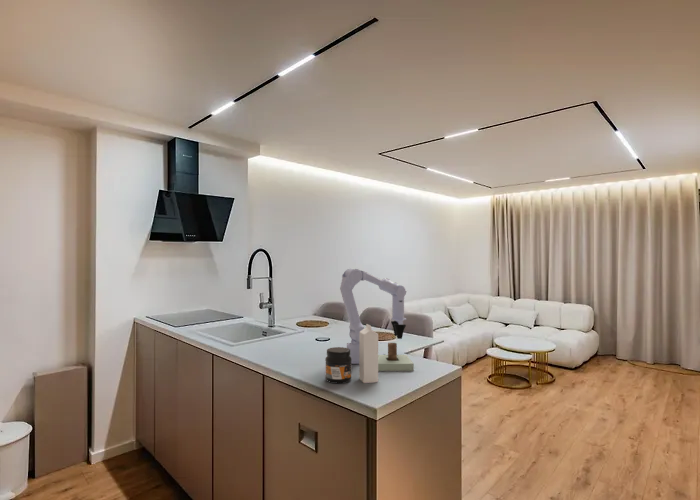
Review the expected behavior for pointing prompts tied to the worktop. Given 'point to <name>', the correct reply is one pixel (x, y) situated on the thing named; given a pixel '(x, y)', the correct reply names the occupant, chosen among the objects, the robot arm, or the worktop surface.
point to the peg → (392, 351)
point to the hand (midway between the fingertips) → (398, 337)
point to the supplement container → (338, 365)
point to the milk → (368, 355)
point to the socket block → (395, 363)
